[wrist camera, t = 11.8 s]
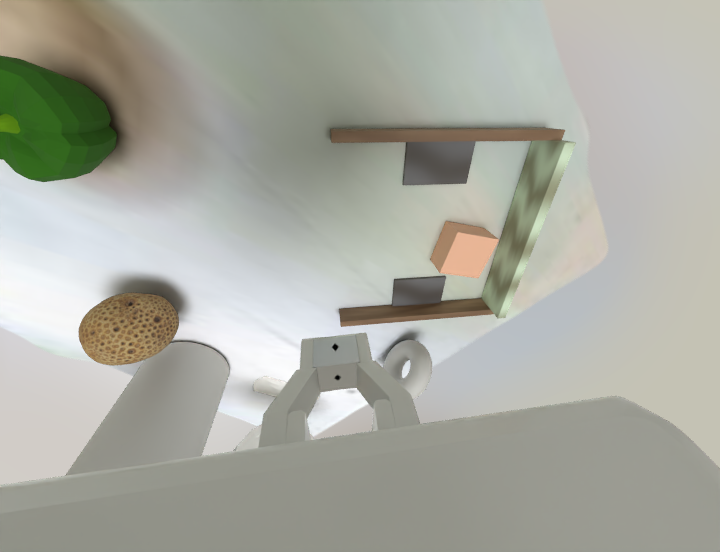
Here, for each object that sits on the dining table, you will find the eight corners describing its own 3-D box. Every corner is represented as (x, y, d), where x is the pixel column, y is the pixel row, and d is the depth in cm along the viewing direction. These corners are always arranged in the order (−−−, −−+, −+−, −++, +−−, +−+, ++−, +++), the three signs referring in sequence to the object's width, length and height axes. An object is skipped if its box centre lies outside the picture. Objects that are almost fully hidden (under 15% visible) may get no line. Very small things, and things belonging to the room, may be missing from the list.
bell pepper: (147, 113, 26) (64, 117, 17) (119, 181, 29) (36, 213, 20) (37, 36, 22) (-136, -4, 14) (17, 123, 25) (-135, 132, 17)
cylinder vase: (234, 345, 44) (154, 567, 23) (227, 391, 50) (158, 599, 29) (146, 333, 40) (-44, 581, 19) (150, 384, 46) (8, 615, 25)
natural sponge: (150, 261, 34) (95, 312, 26) (206, 305, 39) (174, 361, 30) (102, 294, 36) (36, 352, 27) (161, 332, 40) (120, 392, 32)
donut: (387, 365, 51) (400, 415, 43) (374, 359, 50) (384, 410, 41) (424, 333, 47) (446, 381, 39) (410, 325, 46) (430, 374, 38)
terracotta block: (445, 220, 36) (457, 232, 33) (483, 227, 37) (499, 239, 34) (429, 258, 39) (439, 272, 36) (465, 263, 40) (478, 278, 37)
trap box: (330, 128, 28) (331, 133, 24) (545, 127, 31) (580, 131, 27) (339, 313, 42) (341, 336, 38) (486, 302, 45) (503, 322, 41)
